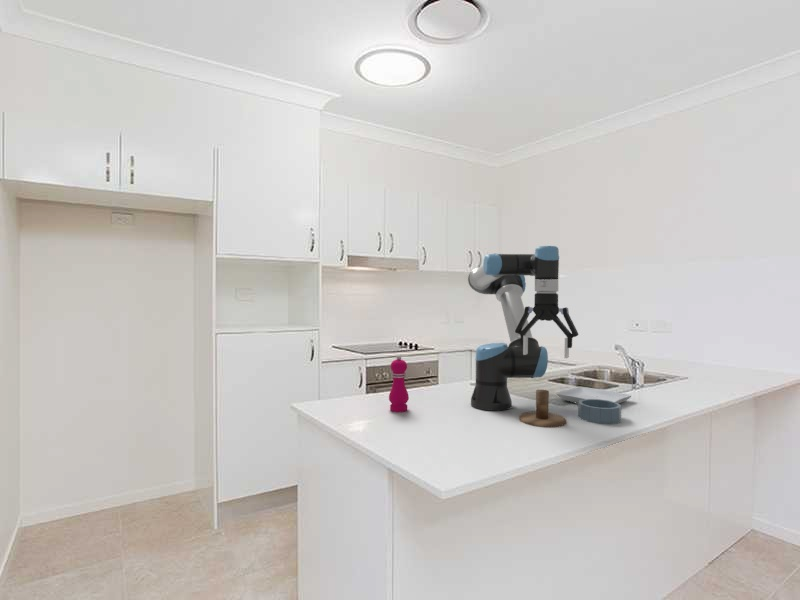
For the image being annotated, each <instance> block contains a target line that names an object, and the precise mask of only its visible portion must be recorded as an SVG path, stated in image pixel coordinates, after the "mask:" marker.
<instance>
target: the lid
mask: <svg viewBox="0 0 800 600" xmlns="http://www.w3.org/2000/svg"><path fill="white" fill-rule="evenodd" d="M549 394H550V393H549V390H547V389H536V391H535V397H536V398H535V411H528V412H527V411H526V412H523V413H520V414H519V415H518V420H519V422H521V423H523V424H525V425H530V426H533V427H538V428H539V427H540V428H559V426H560V427H563V426H565V425H566V424H567V419H566V418H565V416H562V415H561V414H557V413H553V412H549V410H550V409H549V408H550V407H549V406H550V403H549V402H550V401H549V400H550V397H549V396H550V395H549Z"/></svg>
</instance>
